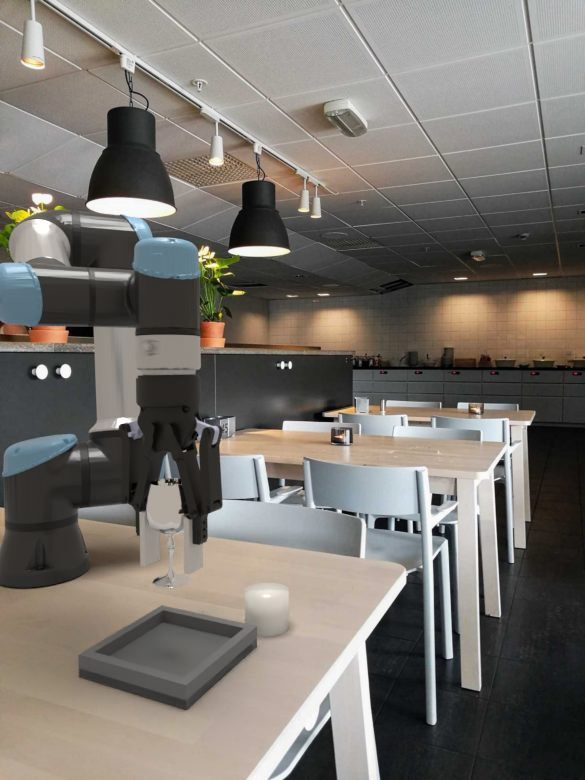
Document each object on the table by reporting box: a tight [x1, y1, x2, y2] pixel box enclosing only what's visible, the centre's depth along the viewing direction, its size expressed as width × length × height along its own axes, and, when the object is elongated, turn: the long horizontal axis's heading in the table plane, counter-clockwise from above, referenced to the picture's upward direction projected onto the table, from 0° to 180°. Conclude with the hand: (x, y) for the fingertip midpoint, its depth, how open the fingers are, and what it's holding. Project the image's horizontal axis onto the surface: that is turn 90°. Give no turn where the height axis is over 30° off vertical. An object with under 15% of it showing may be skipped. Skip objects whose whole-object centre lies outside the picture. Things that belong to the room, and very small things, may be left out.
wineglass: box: [145, 477, 191, 589], centre depth 69 cm, size 6×6×12 cm
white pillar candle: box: [244, 582, 290, 638], centre depth 79 cm, size 6×6×5 cm
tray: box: [78, 605, 258, 710], centre depth 70 cm, size 15×15×3 cm
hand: (171, 566), depth 69 cm, fingers closed on wineglass, 6 cm apart
